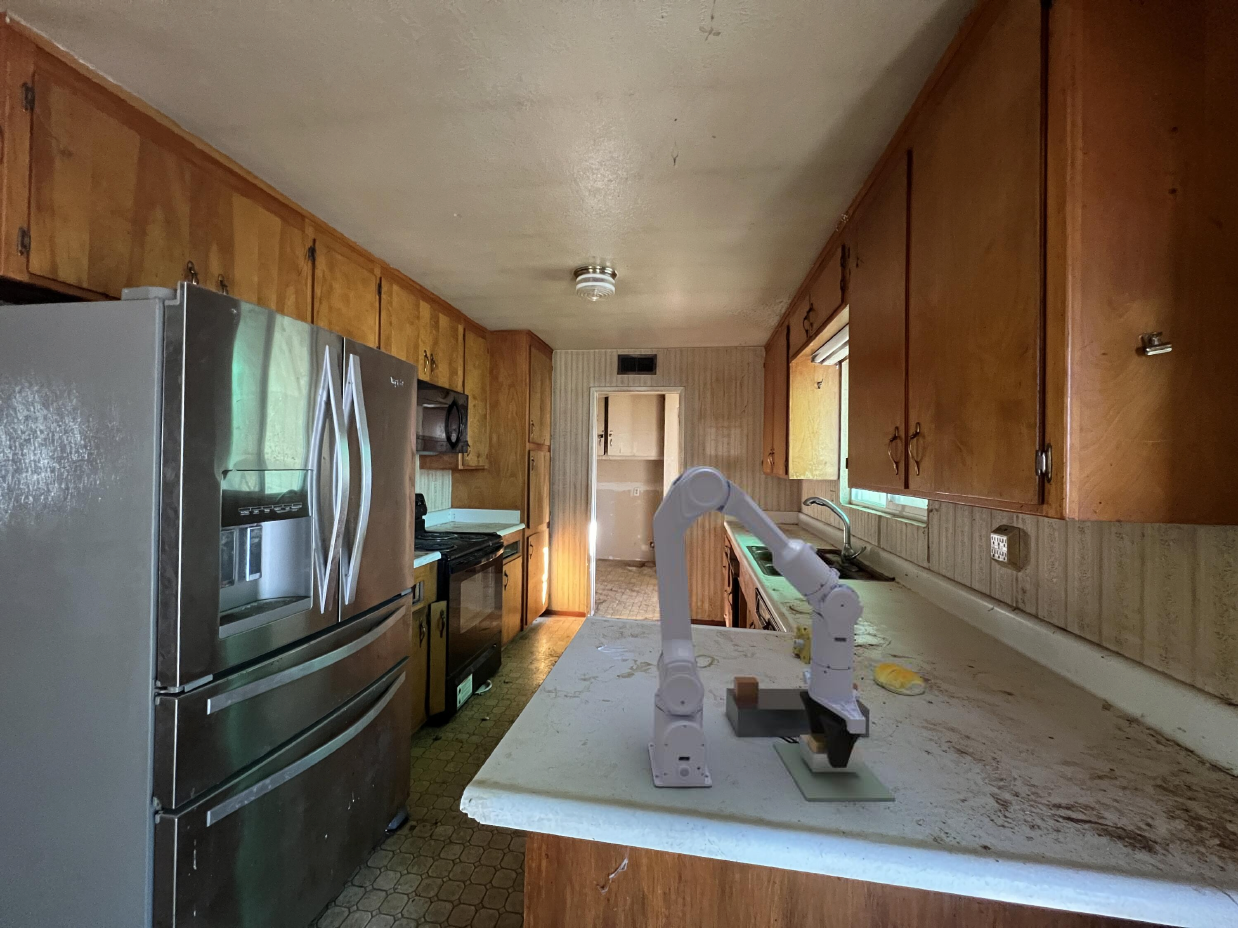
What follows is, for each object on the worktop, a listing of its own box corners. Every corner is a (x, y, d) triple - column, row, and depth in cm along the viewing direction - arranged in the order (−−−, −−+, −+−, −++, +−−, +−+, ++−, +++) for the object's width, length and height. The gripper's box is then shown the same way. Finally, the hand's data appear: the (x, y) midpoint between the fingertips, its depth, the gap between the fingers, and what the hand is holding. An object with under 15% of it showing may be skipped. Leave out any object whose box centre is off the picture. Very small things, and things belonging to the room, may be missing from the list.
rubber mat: (895, 800, 62) (895, 797, 62) (806, 800, 61) (806, 797, 61) (847, 745, 74) (847, 743, 74) (773, 745, 73) (773, 743, 73)
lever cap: (861, 771, 65) (862, 747, 65) (813, 771, 65) (813, 747, 65) (844, 751, 70) (845, 728, 70) (799, 751, 70) (799, 728, 70)
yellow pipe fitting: (819, 651, 114) (781, 645, 113) (827, 611, 114) (789, 605, 113) (848, 678, 102) (805, 672, 101) (857, 633, 101) (814, 626, 100)
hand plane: (868, 736, 76) (870, 690, 76) (737, 736, 75) (738, 689, 75) (846, 713, 83) (847, 671, 83) (725, 713, 82) (726, 670, 82)
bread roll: (895, 674, 101) (895, 656, 101) (931, 694, 92) (932, 674, 92) (863, 677, 99) (863, 658, 99) (897, 698, 90) (897, 677, 90)
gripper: (889, 685, 60) (886, 789, 60) (833, 642, 75) (831, 726, 75) (836, 684, 60) (833, 789, 60) (790, 642, 75) (788, 726, 75)
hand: (829, 754), depth 67 cm, fingers closed on lever cap, 5 cm apart
